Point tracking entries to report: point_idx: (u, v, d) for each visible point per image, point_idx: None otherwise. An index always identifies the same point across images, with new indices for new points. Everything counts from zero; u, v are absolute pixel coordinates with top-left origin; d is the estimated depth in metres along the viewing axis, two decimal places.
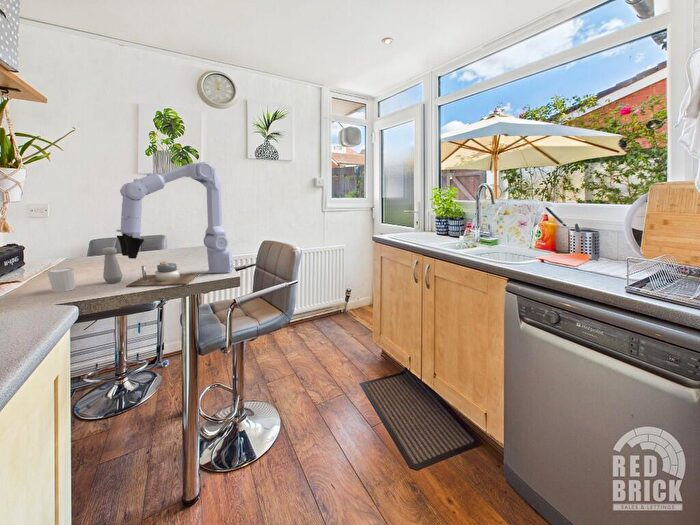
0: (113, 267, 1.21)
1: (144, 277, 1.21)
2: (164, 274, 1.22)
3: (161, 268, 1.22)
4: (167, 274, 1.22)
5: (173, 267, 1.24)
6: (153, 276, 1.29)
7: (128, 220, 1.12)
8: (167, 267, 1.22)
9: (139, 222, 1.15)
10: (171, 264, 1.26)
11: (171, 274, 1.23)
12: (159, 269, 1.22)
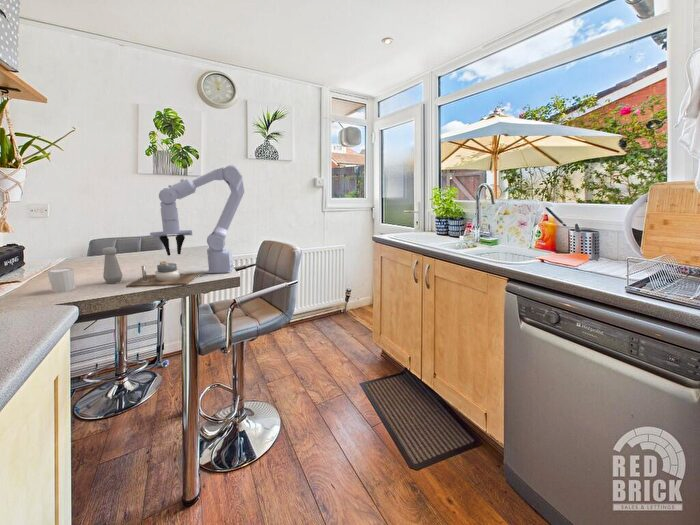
0: (113, 267, 1.21)
1: (144, 277, 1.21)
2: (164, 274, 1.22)
3: (161, 268, 1.22)
4: (167, 274, 1.22)
5: (173, 267, 1.24)
6: (153, 276, 1.29)
7: None
8: (167, 267, 1.22)
9: (166, 224, 1.27)
10: (171, 264, 1.26)
11: (171, 274, 1.23)
12: (159, 269, 1.22)
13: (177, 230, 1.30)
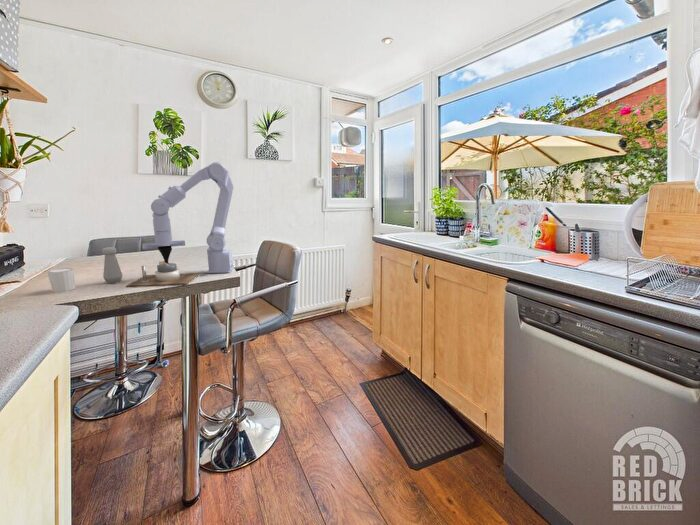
0: (113, 267, 1.21)
1: (144, 277, 1.21)
2: (164, 274, 1.22)
3: (161, 268, 1.22)
4: (167, 274, 1.22)
5: (173, 267, 1.24)
6: (153, 276, 1.29)
7: None
8: (167, 267, 1.22)
9: (158, 235, 1.26)
10: (171, 264, 1.26)
11: (171, 274, 1.23)
12: (159, 269, 1.22)
13: (169, 241, 1.29)
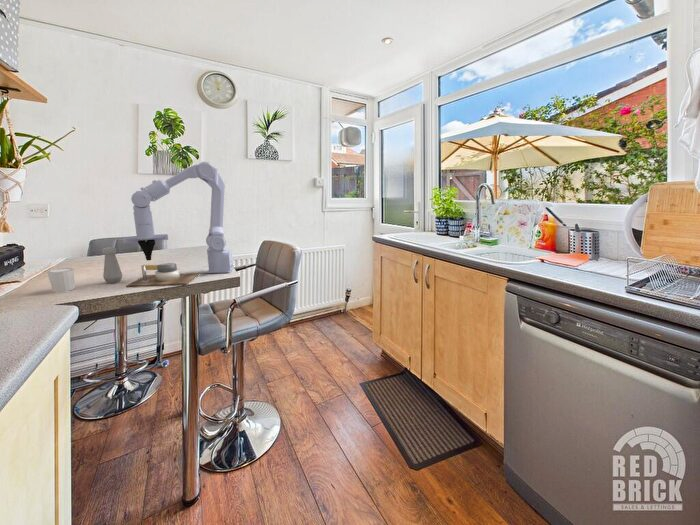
0: (113, 267, 1.21)
1: (144, 277, 1.21)
2: (164, 274, 1.22)
3: (169, 267, 1.23)
4: (167, 274, 1.22)
5: (176, 266, 1.27)
6: (153, 276, 1.29)
7: None
8: (174, 266, 1.25)
9: (139, 228, 1.22)
10: (169, 264, 1.27)
11: (171, 274, 1.23)
12: (167, 269, 1.22)
13: (151, 234, 1.25)
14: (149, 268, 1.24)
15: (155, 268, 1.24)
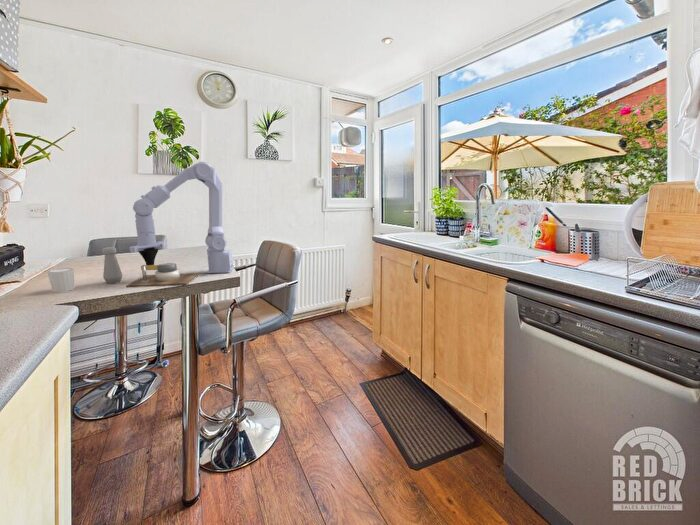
0: (113, 267, 1.21)
1: (144, 277, 1.21)
2: (164, 274, 1.22)
3: (170, 267, 1.23)
4: (167, 274, 1.22)
5: (176, 266, 1.27)
6: (153, 276, 1.29)
7: (137, 235, 1.22)
8: (174, 266, 1.25)
9: (147, 236, 1.22)
10: (168, 264, 1.27)
11: (171, 274, 1.23)
12: (167, 269, 1.23)
13: (156, 242, 1.26)
14: (149, 268, 1.24)
15: (155, 268, 1.24)
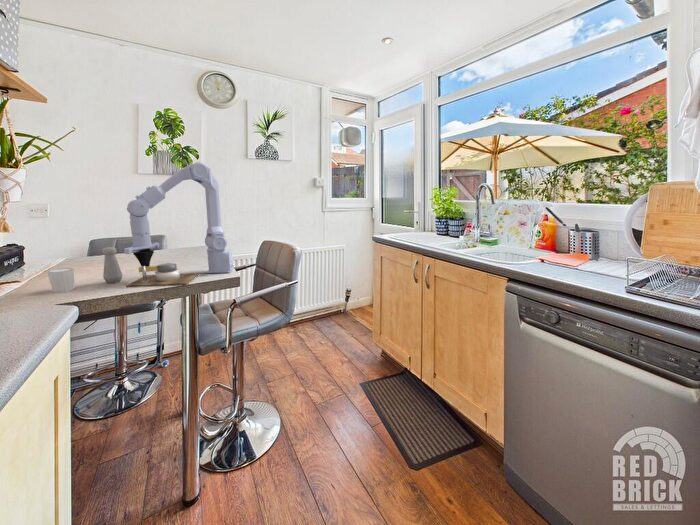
0: (113, 267, 1.21)
1: (144, 277, 1.21)
2: (164, 274, 1.22)
3: (173, 267, 1.24)
4: (167, 274, 1.22)
5: None
6: (153, 276, 1.29)
7: (132, 236, 1.19)
8: (176, 265, 1.26)
9: (142, 237, 1.19)
10: (167, 264, 1.26)
11: (171, 274, 1.23)
12: (171, 268, 1.23)
13: (151, 243, 1.23)
14: (148, 270, 1.22)
15: (155, 269, 1.23)
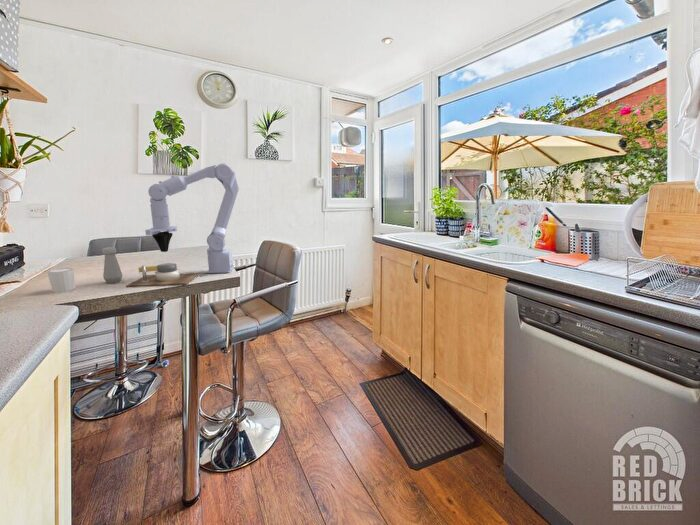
0: (113, 267, 1.21)
1: (144, 277, 1.21)
2: (164, 274, 1.22)
3: (173, 267, 1.24)
4: (167, 274, 1.22)
5: None
6: (153, 276, 1.29)
7: (152, 219, 1.26)
8: (176, 265, 1.26)
9: (161, 220, 1.26)
10: (167, 264, 1.26)
11: (171, 274, 1.23)
12: (171, 268, 1.23)
13: (169, 226, 1.30)
14: (148, 270, 1.22)
15: (155, 269, 1.23)
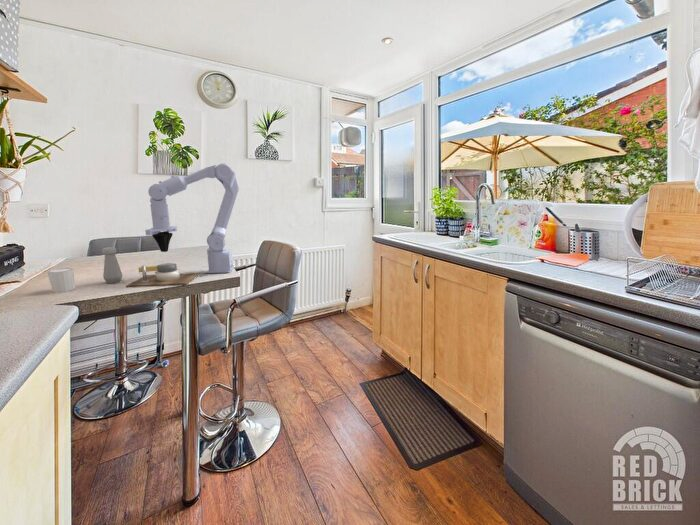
0: (113, 267, 1.21)
1: (144, 277, 1.21)
2: (164, 274, 1.22)
3: (173, 267, 1.24)
4: (167, 274, 1.22)
5: None
6: (153, 276, 1.29)
7: (152, 219, 1.26)
8: (176, 265, 1.26)
9: (161, 220, 1.26)
10: (167, 264, 1.26)
11: (171, 274, 1.23)
12: (171, 268, 1.23)
13: (169, 226, 1.30)
14: (148, 270, 1.22)
15: (155, 269, 1.23)
